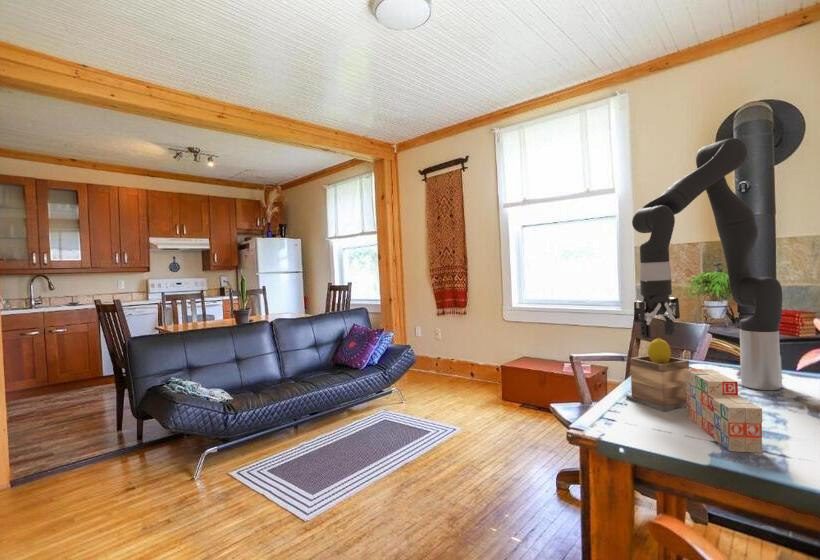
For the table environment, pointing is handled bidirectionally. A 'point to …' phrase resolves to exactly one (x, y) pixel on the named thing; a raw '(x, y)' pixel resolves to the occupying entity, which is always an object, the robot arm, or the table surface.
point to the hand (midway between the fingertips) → (658, 336)
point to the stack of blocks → (723, 410)
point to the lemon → (659, 351)
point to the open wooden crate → (658, 383)
